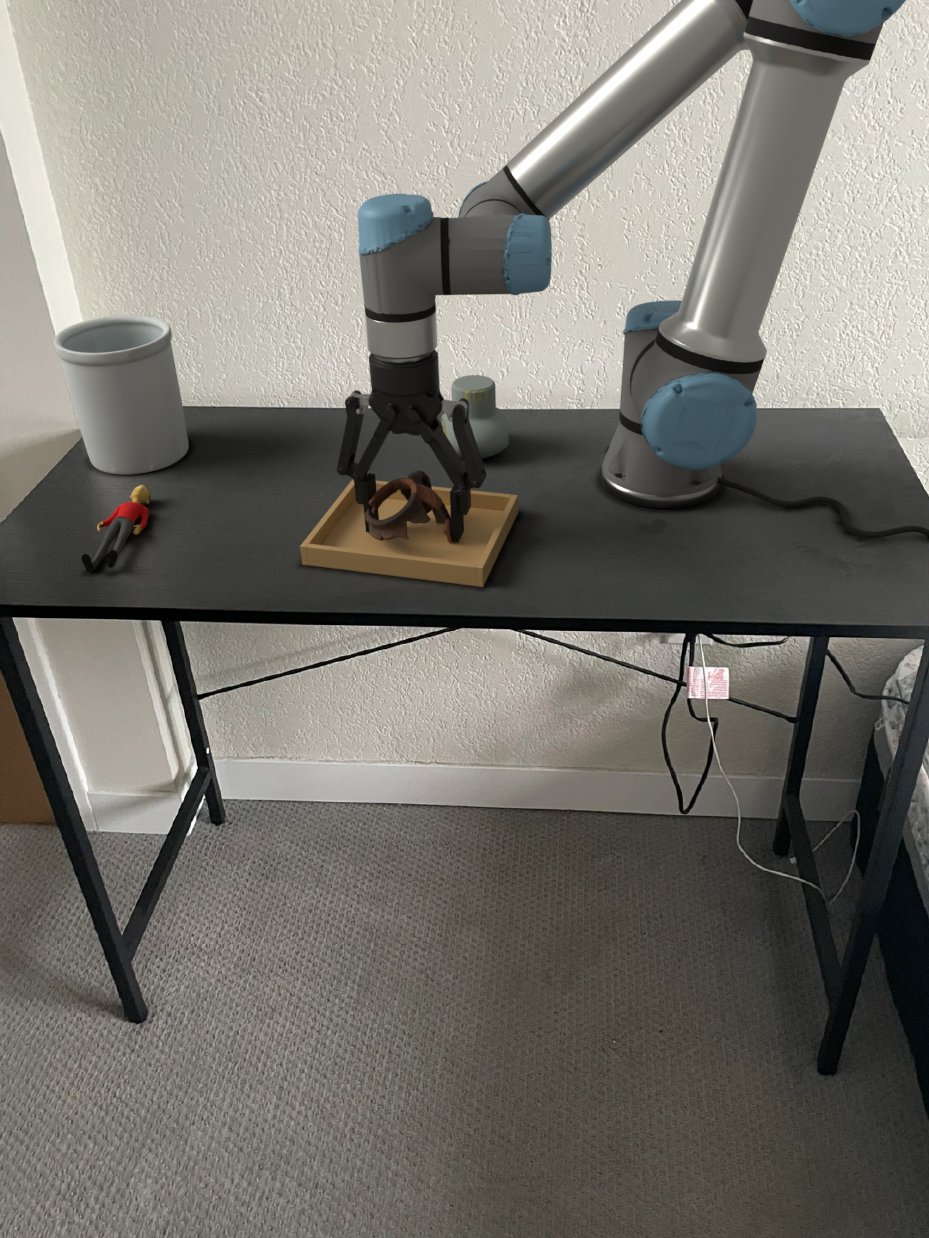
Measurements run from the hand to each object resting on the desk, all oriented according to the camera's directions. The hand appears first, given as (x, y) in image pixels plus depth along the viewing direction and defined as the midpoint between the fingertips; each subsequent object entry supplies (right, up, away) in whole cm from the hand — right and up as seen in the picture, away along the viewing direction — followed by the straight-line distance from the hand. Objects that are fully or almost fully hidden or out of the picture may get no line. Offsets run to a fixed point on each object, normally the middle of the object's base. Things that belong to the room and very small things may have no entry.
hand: (414, 531), depth 122 cm
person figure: (-36, 0, +3) cm, 36 cm away
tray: (0, -1, 0) cm, 1 cm away
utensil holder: (-40, +13, +22) cm, 47 cm away
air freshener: (+7, +13, +20) cm, 25 cm away
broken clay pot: (0, 0, 0) cm, 0 cm away
